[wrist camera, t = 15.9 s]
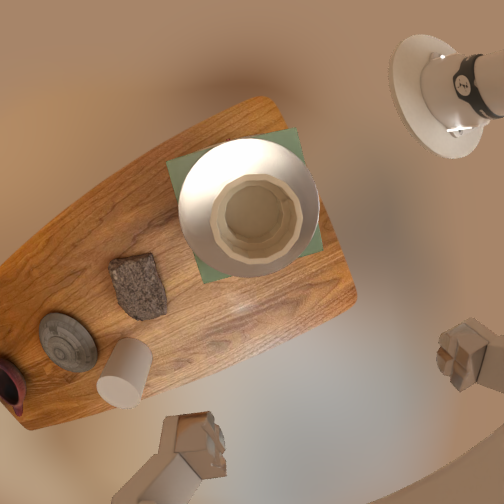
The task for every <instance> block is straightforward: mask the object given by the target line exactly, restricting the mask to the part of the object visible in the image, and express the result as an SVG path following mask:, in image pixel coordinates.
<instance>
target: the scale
mask: <svg viewBox="0 0 504 504" xmlns="http://www.w3.org/2000/svg"><path fill="white" fill-rule="evenodd" d="M166 165H167V168H168V172H169V175H170V179H171V182H172V186H173V189H174V192H175V196H176V199H177V203H178V215H179V222H180V226H181V230H182V233H183V235H184V238H185V240H186V241H187V243H188V245H189V247H190V248H191V249H192V251H193V253H194V256H195V259H196V262H197V265H198V268H199V271H200V274H201V277H202V280H203V283H204V284H205V283H209V282H213V281H217V280H220V279H224V278H228V277H231V276H236V277H247V278H251V277H260V276H265V275H269V274H271V273H274V272H277V271H279V270H281V269H283V268H285V267H286V266H288V265H289V264H291V263H292V262H293V261H294V260H295V259H297V258H299V257H303V256H306V255H310V254H313V253H317V252H320V251H323V245H322V240H321V235H320V229H319V224H318V218H319V196H318V191H317V187H316V184H315V181H314V179H313V177H312V175H311V173H310V171H309V170H308V168H307V167H306V165H305V161H304V157H303V153H302V149H301V145H300V141H299V137H298V133H297V129H296V128H290V129H285V130H280V131H276V132H271V133H267V134H256V135H250V136H245V137H241V138H236V139H232V140H230V139H226V141H225V142H221V143H218V144H214V145H211V146H208V147H205V148H202V149H200V150H197V151H195V152H193V153H191V154H188V155H184V156H181V157H178V158H175V159H172V160H169V161H166ZM255 172H259V173H266V174H269V175H271V176H273V177H275V178H278V179H280V180H282V181H284V182H286V183H287V184H288V186H289V187H290V188H291V189H292V191H293V192H294V193H295V194H296V195H297V197H298V199H299V201H300V206H301V210H302V215H303V222H302V226H301V230H300V235H299V238H298V240H297V241H296V242H295V244H294V245H293V246H292V247H291V249H290V250H289V251H288V253H287V254H285V255H283V256H282V257H280V258H278V259H276V260H274V261H272V262H270V263H266V264H250V265H249V264H245V263H243V262H240V261H238V260H235V259H233V258H230V257H229V256H228V255H227V254H226V253H225V252H224V251H223V250H222V249H221V248H220V247H219V245H218V244H217V243H216V242H215V239H214V235H213V232H212V229H211V225H210V218H211V212H212V206H213V201H214V198H215V195H216V194H217V193H218V191H219V190H220V188H221V187H222V186H223V184H224V183H225V182H226V181H227V180H229V179H231V178H233V177H235V176H237V175H239V174H241V173H255Z"/></svg>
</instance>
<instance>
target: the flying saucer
mask: <svg viewBox="0 0 504 504" xmlns="http://www.w3.org/2000/svg"><path fill="white" fill-rule="evenodd" d="M39 337H40V341H41V344H42V347H43V349H44V351H45V352H46V354H47V355H48V357H49V358H50V359H51V360H52V361H53V362H54V363H55V364H57V365H58V366H60V367H61V368H63V369H65V370H68V371H71V372H85V371H88V370H90V369H92V368H93V367H94V365H95V364H96V361H97V349H96V345H95V343H94V341H93V339H92V337H91V335H90V334H89V333H88V331H87V330H86V329H85V328H84V327H83V326H82V325H81V324H80V323H79V322H77V321H76V320H75V319H73V318H71V317H69V316H67V315H65V314H61V313H50V314H48V315H46V316H45V317H44V318H43V319H42V320H41V322H40V325H39Z"/></svg>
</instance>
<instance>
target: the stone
mask: <svg viewBox="0 0 504 504" xmlns="http://www.w3.org/2000/svg"><path fill="white" fill-rule="evenodd" d="M108 270H109V273H110V276H111V279H112V282H113V286H114V288H115V291H116V296H117V300H118V304H119V305H120V306H121V307H122V308H123V310H124V311H125V312H126V313H127V314H128V315H129V316H130V317H132V318H134V319H136V320H137V321H139V320H141V321H143V320H150V319H154V318H157V317H159V316H160V315H166V313H167V306H166V303H167V302H166V300H167V299H166V295H165V289H164V287H163V285H162V282H161V280H160V278H159V277H158V274H157V270H156V265H155V261H154V258H153V255H152V253H148V254H142V255H137V256H130V257H127V258H122V259H113V260H112V261H110V263H109V266H108Z"/></svg>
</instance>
